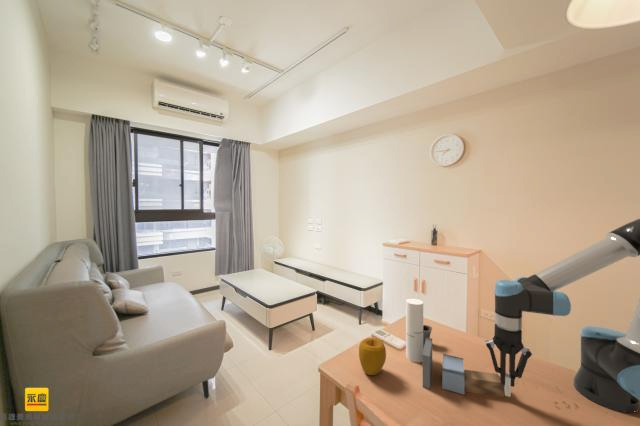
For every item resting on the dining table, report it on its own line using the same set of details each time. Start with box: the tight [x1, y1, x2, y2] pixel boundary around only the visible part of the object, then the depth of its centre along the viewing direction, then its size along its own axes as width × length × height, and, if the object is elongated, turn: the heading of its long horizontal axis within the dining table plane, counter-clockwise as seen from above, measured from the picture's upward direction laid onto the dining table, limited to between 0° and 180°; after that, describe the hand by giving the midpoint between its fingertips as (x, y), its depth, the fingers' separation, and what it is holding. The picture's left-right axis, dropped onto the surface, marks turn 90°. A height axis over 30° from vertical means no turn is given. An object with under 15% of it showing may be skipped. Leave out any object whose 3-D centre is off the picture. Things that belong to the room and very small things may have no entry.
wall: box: [422, 337, 433, 390], centre depth 98 cm, size 2×14×12 cm, turn 152°
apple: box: [358, 337, 387, 376], centre depth 102 cm, size 11×11×13 cm
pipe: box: [423, 324, 433, 346], centre depth 121 cm, size 6×13×8 cm, turn 107°
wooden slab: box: [464, 369, 505, 398], centre depth 92 cm, size 14×5×5 cm, turn 77°
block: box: [441, 353, 465, 395], centre depth 94 cm, size 7×10×8 cm
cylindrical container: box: [405, 298, 424, 363], centre depth 111 cm, size 7×7×25 cm
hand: (507, 393), depth 87 cm, fingers closed
